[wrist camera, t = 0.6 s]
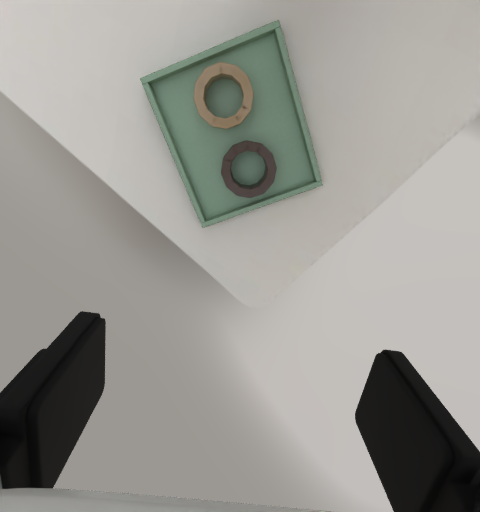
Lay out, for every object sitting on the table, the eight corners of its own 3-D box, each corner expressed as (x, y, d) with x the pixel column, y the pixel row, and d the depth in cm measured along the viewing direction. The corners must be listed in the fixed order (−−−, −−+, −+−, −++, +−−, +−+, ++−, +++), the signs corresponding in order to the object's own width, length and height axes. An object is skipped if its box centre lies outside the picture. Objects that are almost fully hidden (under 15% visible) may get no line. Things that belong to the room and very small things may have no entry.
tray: (145, 81, 35) (139, 78, 33) (276, 26, 34) (278, 19, 32) (204, 223, 41) (202, 228, 39) (318, 182, 39) (323, 185, 38)
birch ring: (188, 81, 35) (184, 76, 32) (240, 59, 34) (241, 52, 31) (209, 136, 37) (207, 136, 34) (258, 117, 36) (260, 115, 33)
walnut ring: (215, 151, 38) (213, 153, 35) (263, 133, 37) (266, 133, 34) (233, 199, 40) (232, 204, 37) (279, 182, 39) (282, 186, 36)
